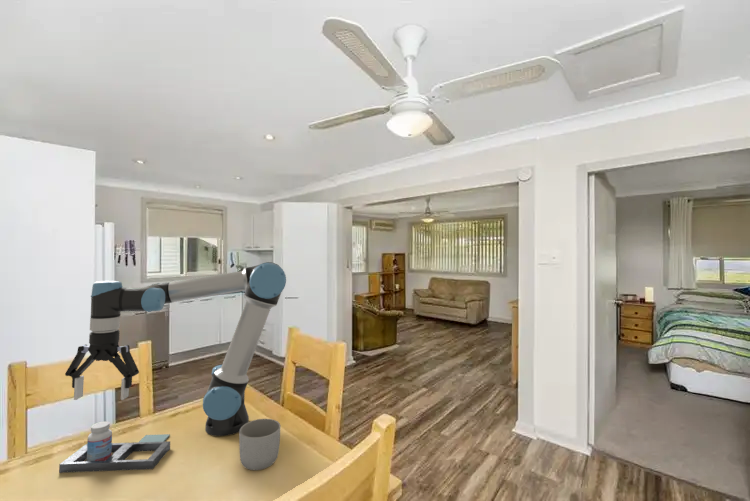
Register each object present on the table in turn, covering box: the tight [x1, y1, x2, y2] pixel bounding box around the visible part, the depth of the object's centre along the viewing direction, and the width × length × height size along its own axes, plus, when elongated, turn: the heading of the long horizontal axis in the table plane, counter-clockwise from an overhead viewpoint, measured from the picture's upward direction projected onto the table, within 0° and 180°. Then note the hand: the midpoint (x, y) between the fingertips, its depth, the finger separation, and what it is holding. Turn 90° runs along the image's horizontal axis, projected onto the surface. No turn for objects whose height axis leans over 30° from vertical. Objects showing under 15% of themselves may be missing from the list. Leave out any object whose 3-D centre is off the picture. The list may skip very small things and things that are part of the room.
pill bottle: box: [86, 421, 113, 461], centre depth 109 cm, size 6×6×11 cm
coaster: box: [138, 433, 171, 442], centre depth 120 cm, size 8×8×1 cm
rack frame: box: [58, 440, 171, 474], centre depth 110 cm, size 26×11×2 cm, turn 96°
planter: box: [238, 418, 281, 471], centre depth 110 cm, size 12×12×11 cm
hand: (101, 398), depth 110 cm, fingers open, 13 cm apart
